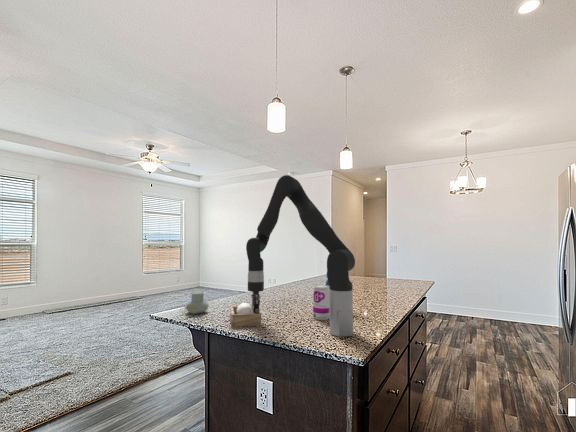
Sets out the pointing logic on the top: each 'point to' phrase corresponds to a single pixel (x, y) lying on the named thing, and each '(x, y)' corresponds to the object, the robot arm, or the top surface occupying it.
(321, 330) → the top surface
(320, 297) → the supplement can
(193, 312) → the air freshener
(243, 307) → the roll
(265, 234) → the robot arm
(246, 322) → the holder
